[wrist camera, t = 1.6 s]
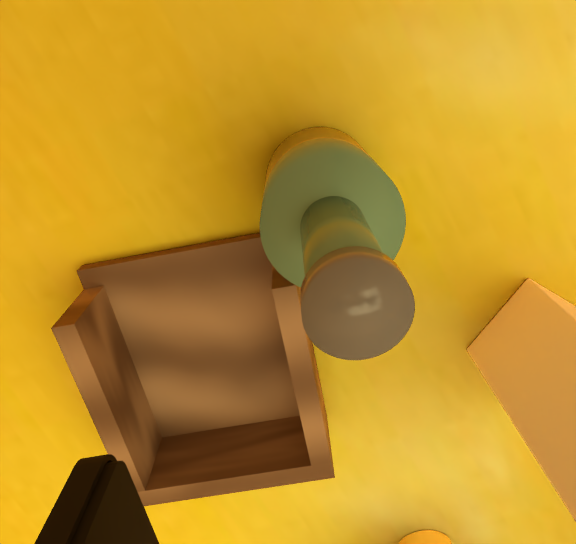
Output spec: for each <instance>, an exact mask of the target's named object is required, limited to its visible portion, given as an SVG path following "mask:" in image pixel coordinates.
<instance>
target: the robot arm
mask: <svg viewBox="0 0 576 544" xmlns="http://www.w3.org/2000/svg"><path fill="white" fill-rule="evenodd" d="M35 544H159V542H158V540H157V537H156V535H155V533H154V530H153V528H152V526H151V523H150V521H149V518H148V516H147V514H146V511H145V509H144V506H143V504H142V502H141V499H140V497H139V494H138V492H137V490H136V487H135V485H134V482H133V480H132V478H131V475H130V473H129V471H128V468H127V466H126V464H125V462H123V461H117V460H116V458H115V456H113V455H112V454H107V455H101V456H95V457H89V458H83V459H80V460H79V461H78V462H77V463H76V465H75V466H74V468H73V470H72V472H71V474H70V476H69V478H68V480H67V482H66V484H65V486H64V487H63V489H62V491H61V493H60V495H59V497H58V499H57V501H56V503H55V505H54V507H53V509H52V511H51V513H50V515H49V517H48V519H47V520H46V522H45V524H44V526H43V528H42V530H41V532H40V534H39V536H38V538H37V540H36V542H35Z"/></svg>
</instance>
